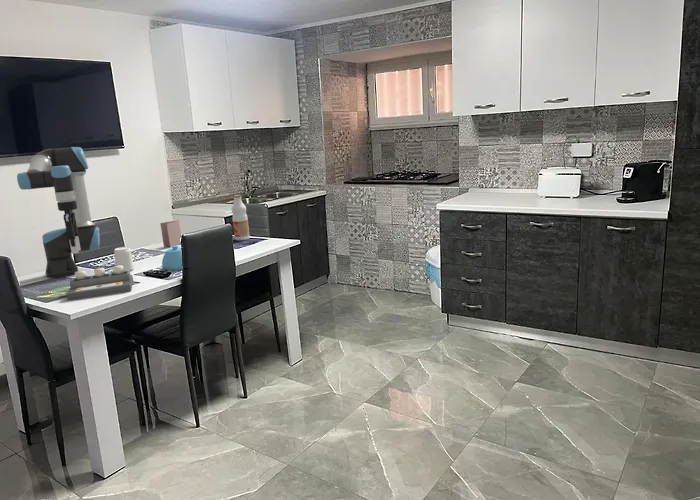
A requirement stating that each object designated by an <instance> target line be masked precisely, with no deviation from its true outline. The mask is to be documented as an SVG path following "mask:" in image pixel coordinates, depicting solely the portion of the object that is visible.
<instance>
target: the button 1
mask: <svg viewBox="0 0 700 500" xmlns="http://www.w3.org/2000/svg"><path fill="white" fill-rule="evenodd" d="M74 275H75V278H76V279H84V278H86V277H87V276H88V275H87V272H86V270H83V269H82V270H78V271H77V272H75V274H74Z"/></svg>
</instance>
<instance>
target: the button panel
mask: <svg viewBox="0 0 700 500" xmlns="http://www.w3.org/2000/svg"><path fill="white" fill-rule="evenodd" d="M105 274H106V275H104V276H100V277H95V274H94V275H86V276H87V277H86V278H84V279H76V277H73V278H71V280H70V281H69V285H70V287H69V289H68V291H67V292H66V293H65V294H66V300H67V301H74V300H81V299H87V298H94V297H100V296H101V297H102V296H108V295H114V294H121V293H128V292H132V288H133V283H134V277H133V274H131V271H130V270H129V271H124V273H121V274H114V272H108V273H105Z"/></svg>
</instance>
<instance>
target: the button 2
mask: <svg viewBox="0 0 700 500" xmlns="http://www.w3.org/2000/svg"><path fill="white" fill-rule="evenodd" d="M112 272H113V273H114V274H121V273H124V269H123V265H118V266H116V265H115V266H114V265H113V266H112Z"/></svg>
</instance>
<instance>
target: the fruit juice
mask: <svg viewBox="0 0 700 500" xmlns="http://www.w3.org/2000/svg"><path fill="white" fill-rule="evenodd" d="M242 197H243V196H242V194H234V195H233V197H232V198H233V200H234V201H233V205H232V206H231V213H232V225H233V234H234V235H233V236H234V240H235V241H247V240H249V239H250V228H249V219H248V214H247V207H246V205H245V204H244V203H243V201H242Z"/></svg>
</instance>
